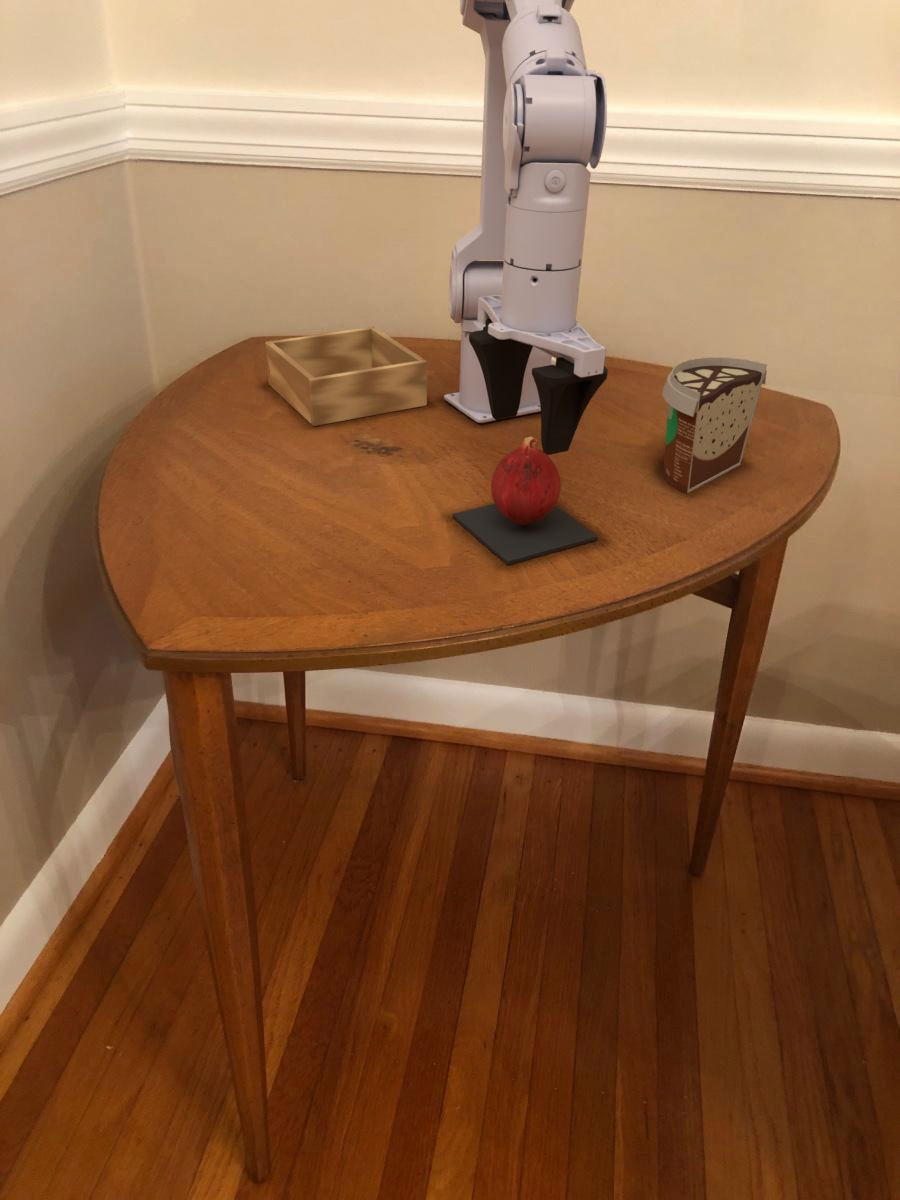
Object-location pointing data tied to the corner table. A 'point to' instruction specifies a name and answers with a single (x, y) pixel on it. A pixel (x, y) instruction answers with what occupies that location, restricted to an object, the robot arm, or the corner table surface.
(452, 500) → the corner table surface
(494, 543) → the mat
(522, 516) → the onion
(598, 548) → the corner table surface
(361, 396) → the wooden box
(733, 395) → the food container
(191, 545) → the corner table surface
